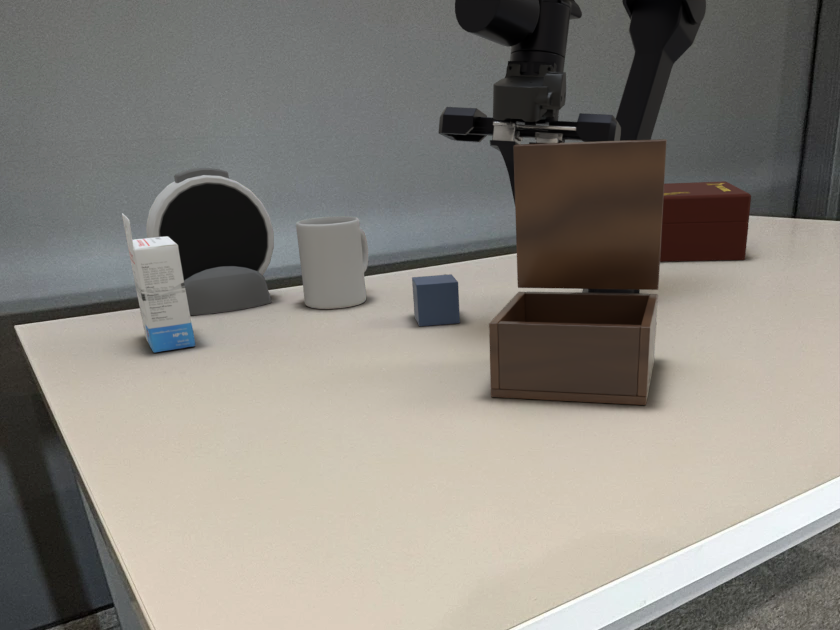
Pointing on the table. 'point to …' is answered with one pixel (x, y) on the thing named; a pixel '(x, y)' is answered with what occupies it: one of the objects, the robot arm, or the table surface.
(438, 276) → the block
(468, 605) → the table surface
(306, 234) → the mug
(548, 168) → the lid
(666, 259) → the box
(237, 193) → the alarm clock
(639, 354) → the box
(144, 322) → the ink box
